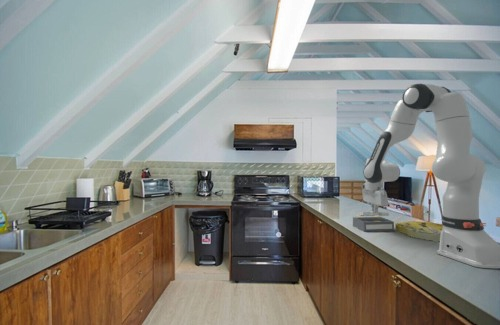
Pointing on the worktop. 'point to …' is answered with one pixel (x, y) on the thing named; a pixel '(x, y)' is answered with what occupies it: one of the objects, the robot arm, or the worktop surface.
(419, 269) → the worktop surface
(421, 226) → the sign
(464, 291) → the worktop surface
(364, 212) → the switch
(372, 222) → the box
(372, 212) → the switch
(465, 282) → the worktop surface
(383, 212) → the switch
